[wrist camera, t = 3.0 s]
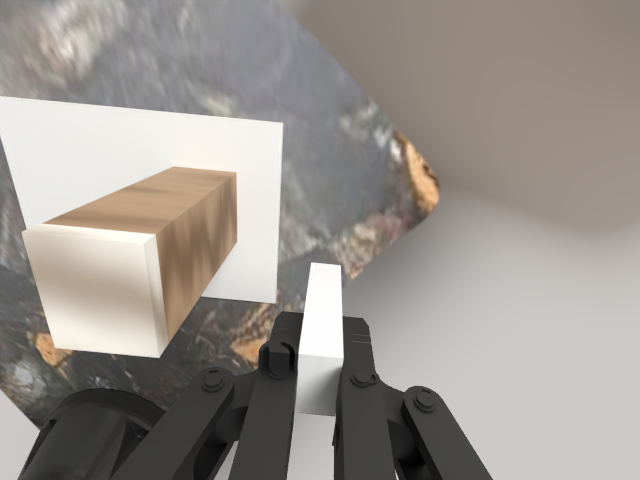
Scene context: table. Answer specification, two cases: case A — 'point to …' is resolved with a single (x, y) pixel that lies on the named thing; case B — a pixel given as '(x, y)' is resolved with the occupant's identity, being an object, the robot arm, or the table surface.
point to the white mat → (149, 171)
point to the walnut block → (133, 260)
